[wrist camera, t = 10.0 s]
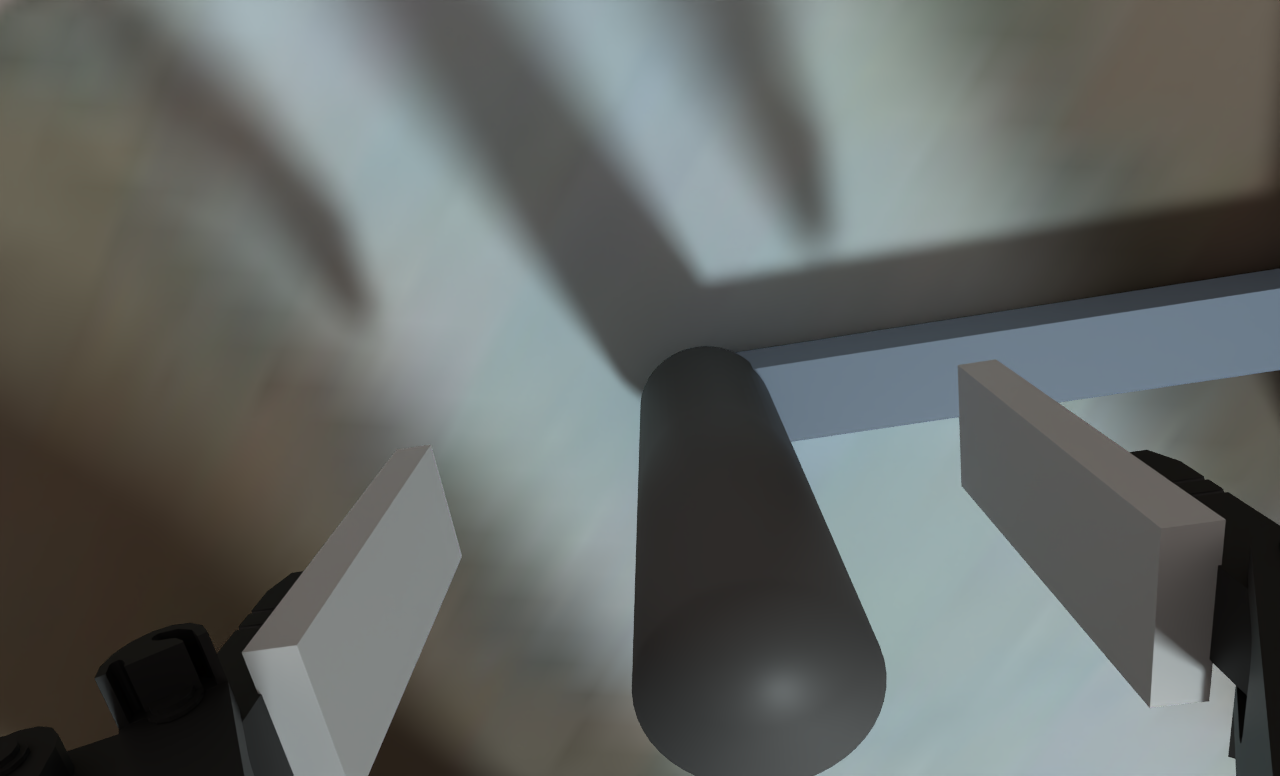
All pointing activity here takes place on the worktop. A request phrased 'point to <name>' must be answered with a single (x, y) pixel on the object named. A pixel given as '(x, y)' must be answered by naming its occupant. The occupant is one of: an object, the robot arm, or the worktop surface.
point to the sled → (793, 523)
